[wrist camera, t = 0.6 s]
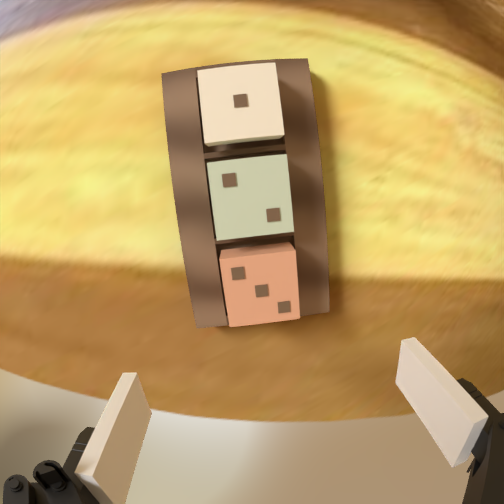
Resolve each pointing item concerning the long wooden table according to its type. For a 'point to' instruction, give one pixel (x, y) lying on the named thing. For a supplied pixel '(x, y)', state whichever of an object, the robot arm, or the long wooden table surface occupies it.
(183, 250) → the brown wooden tray
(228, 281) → the button three terracotta
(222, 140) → the button one cream
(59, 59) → the long wooden table surface
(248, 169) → the button two sage
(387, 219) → the long wooden table surface
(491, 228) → the long wooden table surface
